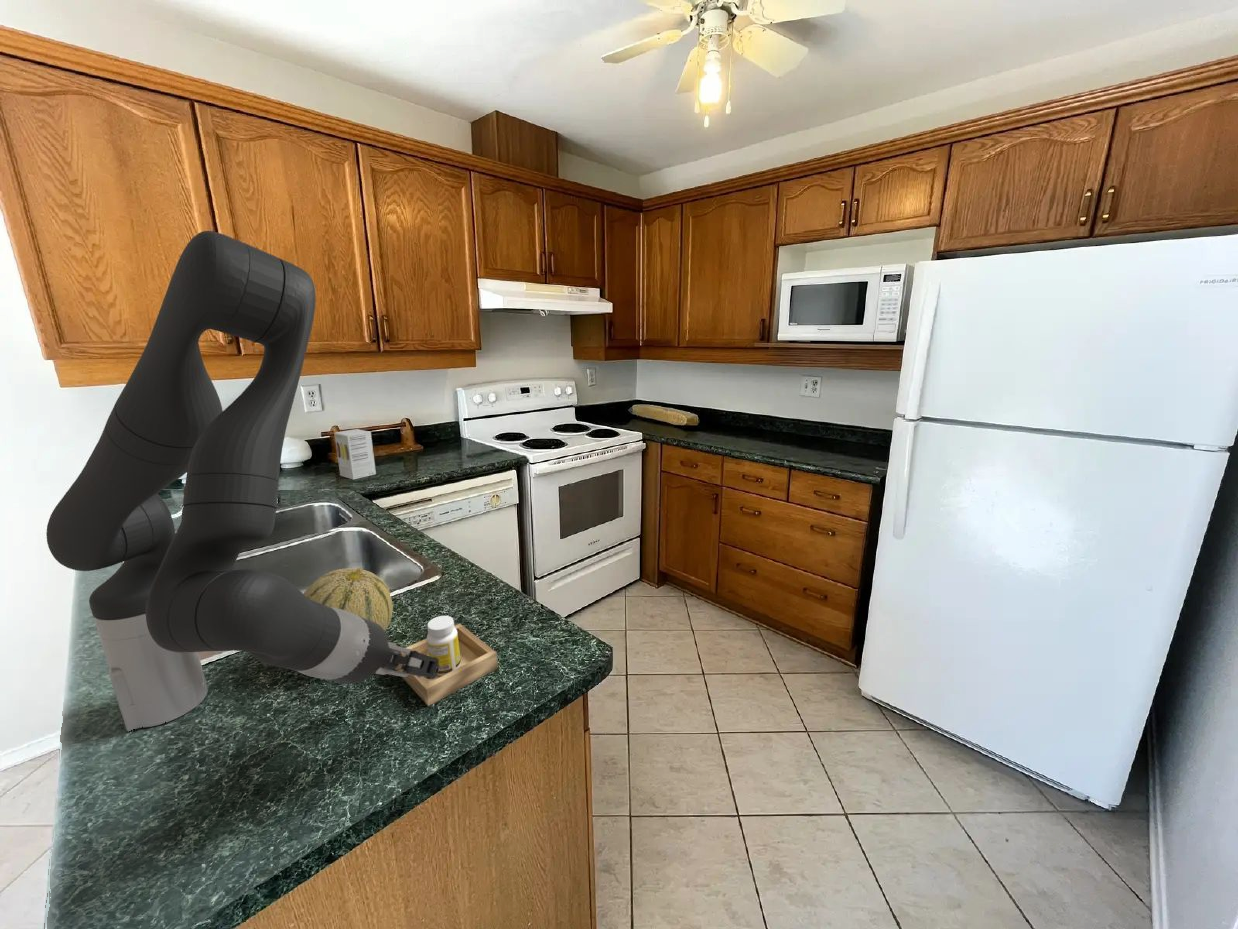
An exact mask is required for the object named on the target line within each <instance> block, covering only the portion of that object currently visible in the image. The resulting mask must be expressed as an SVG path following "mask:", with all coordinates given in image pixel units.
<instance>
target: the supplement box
mask: <svg viewBox="0 0 1238 929" xmlns="http://www.w3.org/2000/svg"><path fill="white" fill-rule="evenodd" d="M334 442H335V445H336V446H335V448H336V456H337V461H338V462H337V463H338V467H339V468H338V469H339V475H340V476H341V477H343V478H344V477H345V478H348V479H350V480H358V479H362V478H365V477H370V476H374V475H377V472H376V462H375V455H374V448H373V439H372V431H368V430H362V429H359V428H356V429H347V430H342V431H336V432H334Z"/></svg>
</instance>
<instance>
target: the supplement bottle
mask: <svg viewBox="0 0 1238 929" xmlns="http://www.w3.org/2000/svg"><path fill="white" fill-rule="evenodd" d="M454 622H455V621H454V618H453V617H451V616H450V615H438V616H436V617H434V618H432V619H430V620H429V621H428V622H427V625H426V626H427V636H426V638H427V646H428V653H429V656H430V657H436V658H437V659H439V662H438V663H439V666H440V668H439V671H438V674H437V675H439V676H444V675H446V674H448V673H450V672H452V671H454V670H455V669H457V668H459V667H460V664H461V659H460V650H459V642H458V633H457V630H456V629H455V628H454V626H455V623H454Z"/></svg>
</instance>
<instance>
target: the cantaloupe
mask: <svg viewBox="0 0 1238 929" xmlns="http://www.w3.org/2000/svg"><path fill="white" fill-rule="evenodd" d="M303 594H304V595H305V596H306V597H307V599H310V600H313V601H315V602H318V603H320V604H323V605H325V606H328V607H332V608H337V609H342V610H345V611H347V612H350V613H352V614H355V615H357V616H360V617H362V618H365V619H367V620H370V621H372V622H375V623H377V624H379V625H380V626H381V627H382V628H383V629H384V631H385V632H386V631H387V629H388V627H389V625H390V623H391V621H392V616H393V611H394V610H393V609H394V606H393V601H392V600H393V599H392V597H391V596H392V595H391V591H390V588H389V587H388V585H387V583H385V581H384V580H383V579H381V577H379V576H378V575H376V574H375V573H373V572H371V571H368V570H365V569H362V568H361V567H357V568H355V567H354V568H353V567H347V568H345V567H344V568H340V569H334V570H331V571H329V572H327V573H325V574H323V575H321V576H319V578H317V579H316V580H315V581H314V582H313V583H312V584H310V585H309V587H308V588H307V589H306V590H305V591H303Z"/></svg>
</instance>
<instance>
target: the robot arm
mask: <svg viewBox="0 0 1238 929" xmlns="http://www.w3.org/2000/svg"><path fill="white" fill-rule="evenodd" d="M316 297H317V296H316V286H315V282H314V280H313V278H312V277H311V275H310V273H308V272H307V271H306V270H305V269H303V268H301V267H300V266H297V265H295V264H294V263H292V262H289V261H287V260H284V259H282V258H280V257H278V256H276V255H274V254H271V253H269V252H267V251H264V250H262V249H259V248H257V247H255V246H252V245H250V244H248V243H246V242H242V241H241V240H238V239H236V238H233V237H231V236H228V235H226V234H224V233H220V232H216V231H213V230H203V231H201V232H198V233H197V234H196V235H194V236H193V237H192V238H191V239H190V241H189V242H188V243H187V244H186V246H185V247H184V249H183V251H182V253H181V255H180V257H179V258H178V261H177V263H176V265H175V269H174V270H173V273H172V276H171V278H170V282H169V284H168V287H167V290H166V292H165V295H164V298H163V300H162V303H161V306H160V309H159V311H158V313H157V317H156V319H155V322H154V325H153V327H152V331H151V332H150V336H149V338H148V341H147V343H146V345H145V347H144V349H143V351H142V353H141V355H140V357H139V359H138V362H137V363H136V365H135V367H134V368H133V371H132V372H131V375H130V376H129V378H128V380H127V382H126V383H125V386H124V387H123V389H122V391H121V393H120V394H119V396H118V398H117V400H116V401H115V403H114V406H113V407H112V409H111V411H110V413H109V415H108V418H107V420H106V422H105V426H104V427H103V430H102V432H101V434H100V437H99V439H98V440H97V441H98V442H97V443H96V445H95V447H94V449H93V450H92V452H91V455H90V456H89V458H88V460H87V462H86V463H85V465H84V467H83V468H82V470H81V472H80V473H79V474H78V476H77V477H76V478H75V480H74V482H73V483H72V485H71V486H70V487H69V489H68V490H67V491H66V492H65V494H64V495H63V496H62V497H61V499H60V500H59V501H58V503H57V505H56V506H55V507H54V509H52V512H51V514H50V515H49V519H48V522H47V525H46V542H47V546H48V550H49V551H50V554H51V555H52V557H53V558H54V559H55V560H56V562H58V563H59V564H60V565H62V566H64V567H66V568H67V569H70V570H73V571H80V572H90V571H97V570H101V569H105V568H109V567H112V566H115V565H118V564H121V563H122V564H121V565H120V567H119V568H118V569H117V570H116V572H114V574H112V575H111V576H110V577H109V578H107V579H106V580H105V581H104V582H102V584H100V585H98V586H97V587H96V588H95V589H94V590H93V591H92V593H91V594H90V595H89V599H88V600H89V601H88V602H89V607H90V611H91V613H92V617H93V619H94V623H95V624H94V625H95V626H96V629H97V632H98V636H99V639H100V642H101V646H102V650H103V652H104V655H105V660H106V662H107V664H108V674H109V679H110V682H111V685H112V689H113V692H114V695H115V697H116V701H117V704H118V707H119V711H120V713H121V717H122V719H123V723H124V726H125V729H126V732H127V731H128V732H127V733H129V731H130V732H132V731H134V730H133V729H135V730H136V729H141V728H142V727H143V728H150V727H155V726H160V725H163V724H166V723H168V722H171V721H173V720H177V719H178V718H180V717H182V716H184V715H185V714H187V713H189V712H191V711H192V710H193V709H194V708H196V707H198V706H199V705H200V704H201V703H202V702H203V701H204V700H205V698H206V697H207V695H208V692H209V691H208V686H207V682H206V677H205V675H204V670H203V665H202V662H201V658H200V655H199V654H200V653H201V652H225V651H226V652H227V651H228V652H229V651H232V652H233V651H234V652H235V651H236V652H238V651H239V652H249V653H250V655H251V656H252V657H253V658H254V659H256V660H257V661H259V662H261V663H264V664H266V665H269V666H272V667H277V668H281V669H286V670H291V671H295V672H298V673H300V674H303V675H306V676H307V677H313V678H316V679H320V680H321V679H322V680H327V681H332V682H336V683H340V684H341V683H342V684H346V685H354V684H355V685H356V684H359V683H362V682H364V681H366V680H368V679H369V678H371V677H372V676H373V675H374V674H376V675H383V676H385V675H392V676H395V677H401V678H403V677H407V676H408V675H409V674H410V675H415V676H417V677H419V678H421V677H425V678H427V679H434V678H435V677H437V674H438V671H439V668H440V666H439V663H438V662H439V659H437V658H436V657H430V656H427V655H424V654H422V653H419V652H417V651H415V650H411V649H407V648H406V647H403V646H402V647H401V646H398V645H397V644H396V643H394V642H392V641H391V642H390V641H388V636H387V633H386V631H384V629H383V628H382V627H381V626H380V625H379V624H377V623H375V622H372V621H370V620H367V619H365V618H362V617H360V616H357V615H355V614H352V613H350V612H347V611H345V610H342V609H337V608H332V607H328V606H325V605H323V604H320V603H318V602H315V601H313V600H310V599H307V597H306V596H305V595H304V592H302V591H301V590H300V589H299V588H297V586H295V585H294V584H293V583H292V582H290V581H289V580H288V579H286V578H285V577H283V576H281V575H278V574H276V573H274V572H273V573H272V572H270V571H266V570H263V569H262V570H260V569H254V568H252V569H250V568H249V569H247V568H246V569H245V568H244V569H234V566H235V564H236V562H237V560H238V558H239V555H240V553H241V552H242V551H243V549H245V548H246V547H248V546H251V545H254V544H256V543H259V542H261V541H264V540H265V539H267V538H269V537H270V536H271V534H272V533H273V532H274V528H275V522H276V516H277V504H278V495H279V484H280V483H279V481H280V470H281V461H282V453H283V446H284V443H285V442H284V441H285V436H286V433H287V432H286V431H287V427H288V423H289V419H290V416H291V412H292V408H293V405H294V401H295V397H296V392H297V389H298V385H299V382H300V379H301V374H302V370H303V366H304V362H305V361H304V360H305V358H306V357H305V356H306V353H307V348H308V345H309V343H310V342H309V341H310V338H311V333H312V328H313V324H314V319H315V310H316V300H317V299H316ZM208 330H212V331H216V332H220V333H223V334H226V335H229V336H230V335H231V336H233V337H237V338H239V339H240V338H241V339H243V340H247V341H250V342H253V343H257V344H259V345H261V346H263V350H264V351H263V356H262V361H261V365H260V367H259V369H258V371H257V373H256V375H255V376H254V378H253V380H252V381H251V382H250V383H249V385H248V386H246V388H244V390H243V391H242V392H241V394H239V396H238V397H236V398H235V399H234V400H233V402H231V403H230V404H229V405H228V406H227V407H226V408H225V409H224V410H223V407H222V402H221V399H220V396H219V394H218V392H217V389H216V387H215V385H214V383H213V380H212V379H211V377H210V375H209V373H208V371H207V368H206V366H205V363H204V361H203V358H202V357H203V356H202V353H201V349H200V345H199V341H200V338H201V336H202V335H203V333H204V332H206V331H208ZM184 475H186V476H185V477H186V479H185V484H184V488H185V491H184V490H183V491H184V493H183V500H182V510H181V521H180V524H179V526H178V527H177V530H176V529H175V524H174V519H173V517H172V513H171V511H170V509H169V507H168V505H167V503H166V502H165V500H164V499H163V498H162V497H161V496H160V494H159V493H160V492H161V491H164V489H166V488H167V487H168V486H170V485H171V484H173V483H175V482H176V481H177V480H179V479H180V478H182V477H183V476H184ZM401 652H403V653H405V657H404V656H402V653H401ZM399 664H401V665H402V668H401V670H400V671H396V670H395V668H397V667H398V665H399ZM165 722H166V723H165ZM131 730H132V731H131Z"/></svg>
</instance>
